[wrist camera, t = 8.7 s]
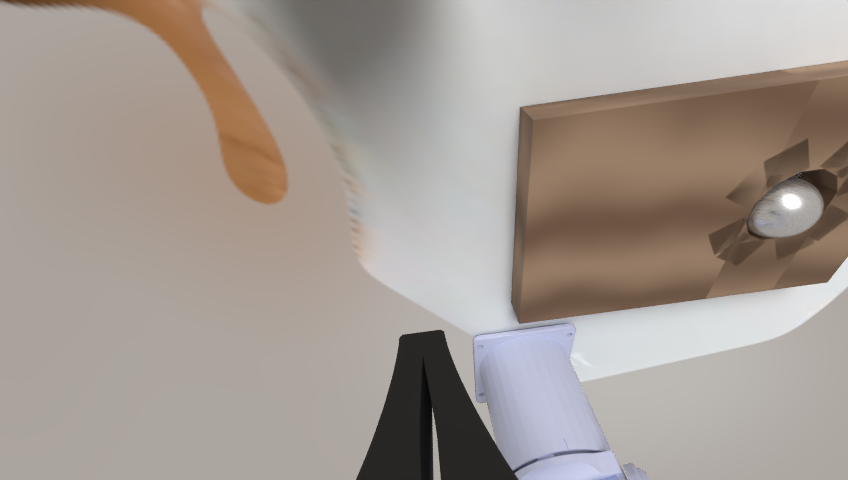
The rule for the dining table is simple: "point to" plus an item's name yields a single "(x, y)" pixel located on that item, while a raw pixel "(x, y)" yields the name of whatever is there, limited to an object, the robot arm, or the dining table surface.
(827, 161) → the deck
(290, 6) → the dining table surface
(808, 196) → the ball
